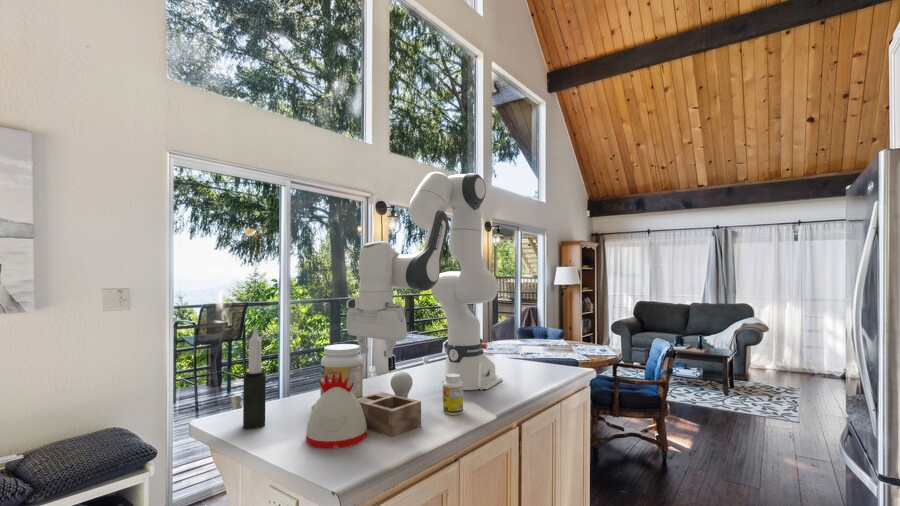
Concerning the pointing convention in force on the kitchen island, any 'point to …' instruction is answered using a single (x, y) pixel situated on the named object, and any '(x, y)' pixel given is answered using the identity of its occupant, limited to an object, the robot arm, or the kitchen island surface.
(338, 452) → the kitchen island surface
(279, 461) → the kitchen island surface
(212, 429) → the kitchen island surface
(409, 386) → the lightbulb
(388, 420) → the socket block
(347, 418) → the kitchen timer
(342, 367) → the supplement tub
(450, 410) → the supplement bottle
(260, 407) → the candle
